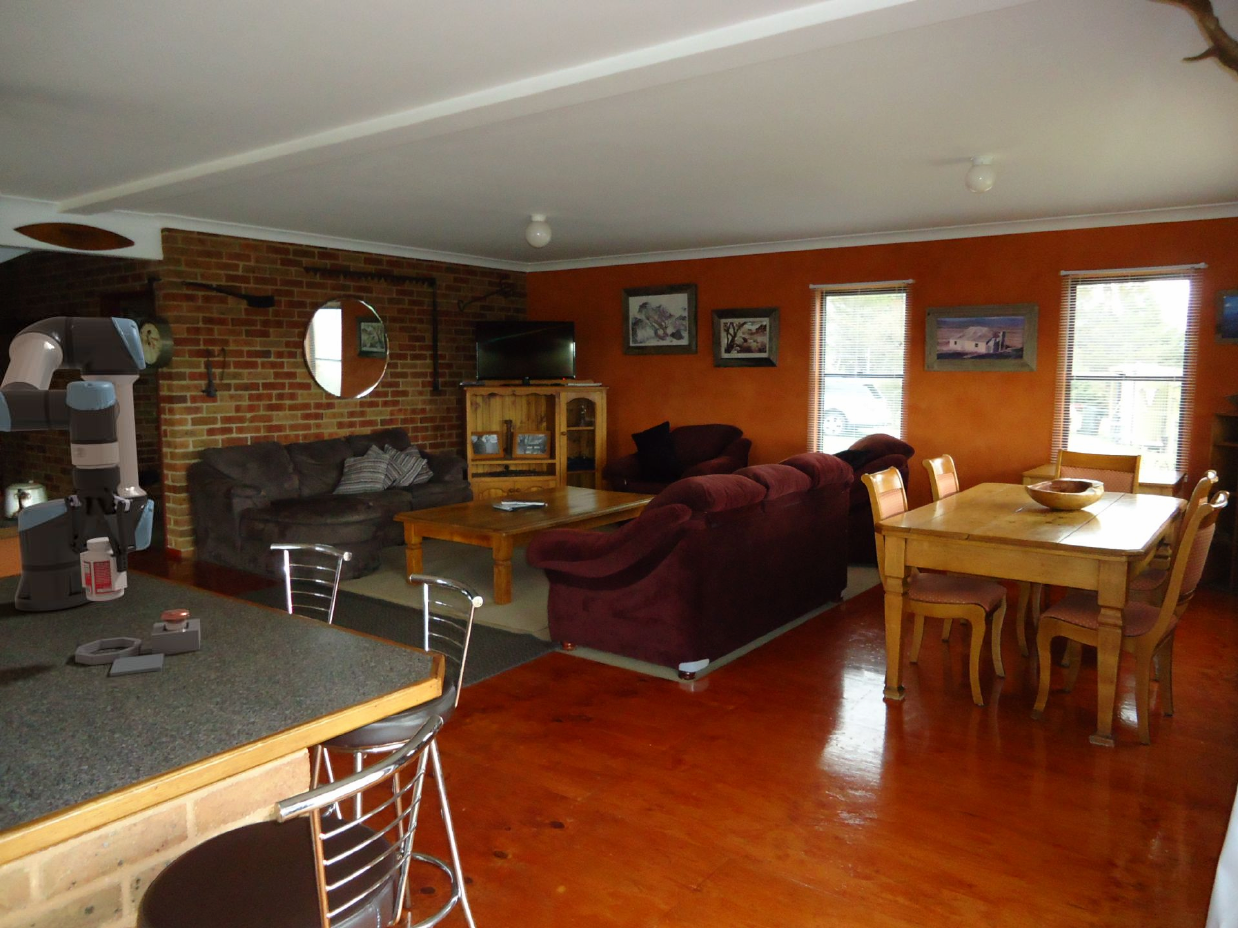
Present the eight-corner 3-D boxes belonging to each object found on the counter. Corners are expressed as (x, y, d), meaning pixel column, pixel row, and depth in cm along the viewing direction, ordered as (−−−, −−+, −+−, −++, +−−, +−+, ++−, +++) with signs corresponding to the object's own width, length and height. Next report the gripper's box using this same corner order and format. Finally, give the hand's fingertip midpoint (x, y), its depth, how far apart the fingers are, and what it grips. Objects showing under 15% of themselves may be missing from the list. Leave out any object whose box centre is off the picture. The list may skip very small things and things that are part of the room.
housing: (81, 649, 167) (80, 629, 166) (200, 636, 175) (199, 616, 174) (72, 667, 157) (71, 646, 157) (199, 652, 166) (198, 631, 165)
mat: (115, 661, 160) (115, 658, 160) (164, 655, 163) (163, 652, 163) (109, 676, 153) (109, 673, 153) (161, 669, 156) (160, 666, 156)
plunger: (164, 640, 170) (162, 610, 169) (191, 637, 172) (189, 607, 171) (162, 647, 165) (160, 617, 165) (190, 644, 167) (188, 614, 167)
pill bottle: (131, 593, 166) (128, 536, 164) (109, 602, 160) (105, 544, 158) (101, 591, 166) (97, 535, 165) (78, 600, 160) (74, 542, 159)
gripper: (36, 465, 159) (46, 587, 162) (121, 471, 153) (129, 597, 157) (72, 460, 166) (81, 577, 169) (154, 465, 160) (162, 586, 164)
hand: (104, 586), depth 163 cm, fingers closed on pill bottle, 6 cm apart
